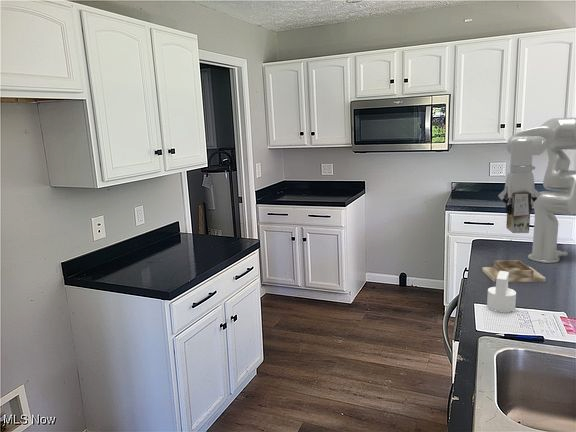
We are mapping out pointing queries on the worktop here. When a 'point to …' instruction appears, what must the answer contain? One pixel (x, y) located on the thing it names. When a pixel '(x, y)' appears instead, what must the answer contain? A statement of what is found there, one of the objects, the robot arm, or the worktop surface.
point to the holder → (514, 271)
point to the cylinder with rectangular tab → (501, 294)
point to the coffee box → (519, 213)
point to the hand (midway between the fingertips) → (518, 213)
